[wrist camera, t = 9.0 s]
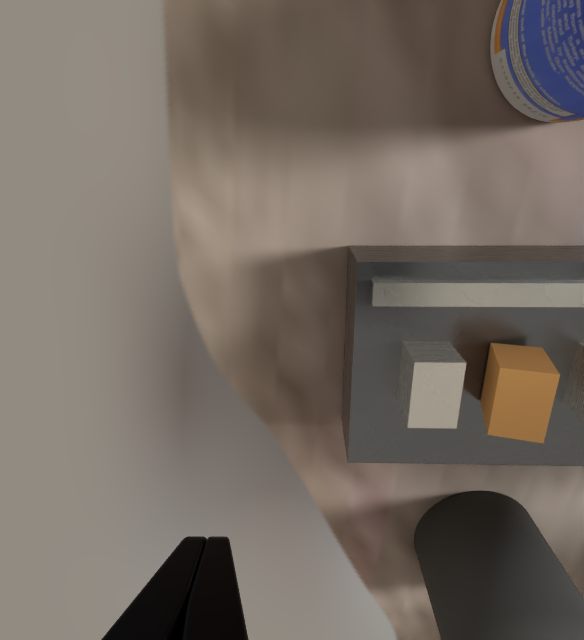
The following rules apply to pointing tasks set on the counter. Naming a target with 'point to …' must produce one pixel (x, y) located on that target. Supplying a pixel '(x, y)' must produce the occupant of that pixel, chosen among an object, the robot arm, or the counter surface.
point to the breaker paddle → (518, 392)
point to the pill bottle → (540, 57)
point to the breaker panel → (457, 350)
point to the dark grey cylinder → (494, 572)
